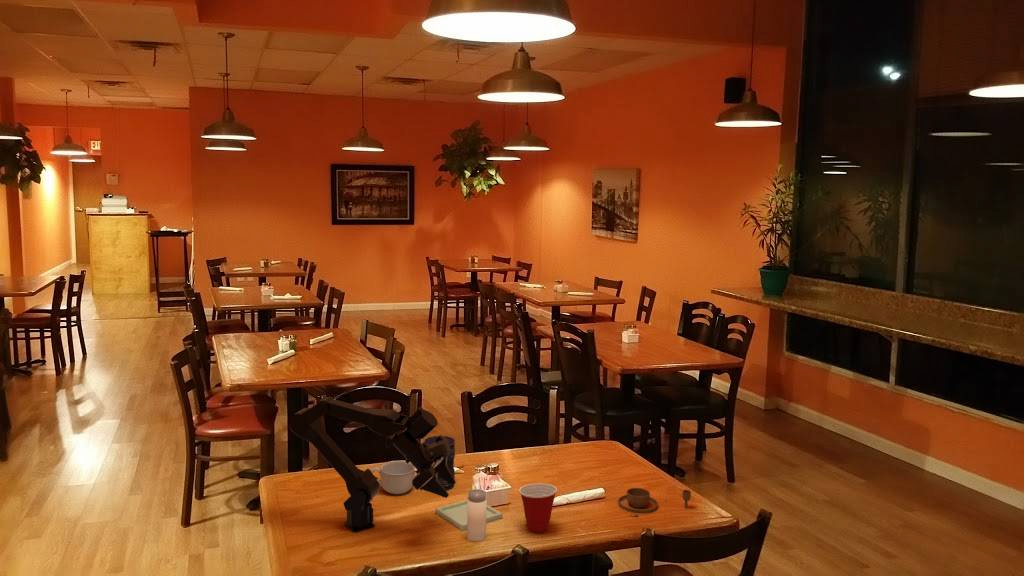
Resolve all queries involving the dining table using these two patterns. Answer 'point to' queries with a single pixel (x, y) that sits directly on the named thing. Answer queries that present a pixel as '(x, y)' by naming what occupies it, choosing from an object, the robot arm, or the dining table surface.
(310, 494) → the dining table surface
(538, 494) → the plastic cup
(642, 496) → the place setting
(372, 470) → the teacup
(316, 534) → the dining table surface
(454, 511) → the tray
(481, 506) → the salt shaker
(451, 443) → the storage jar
